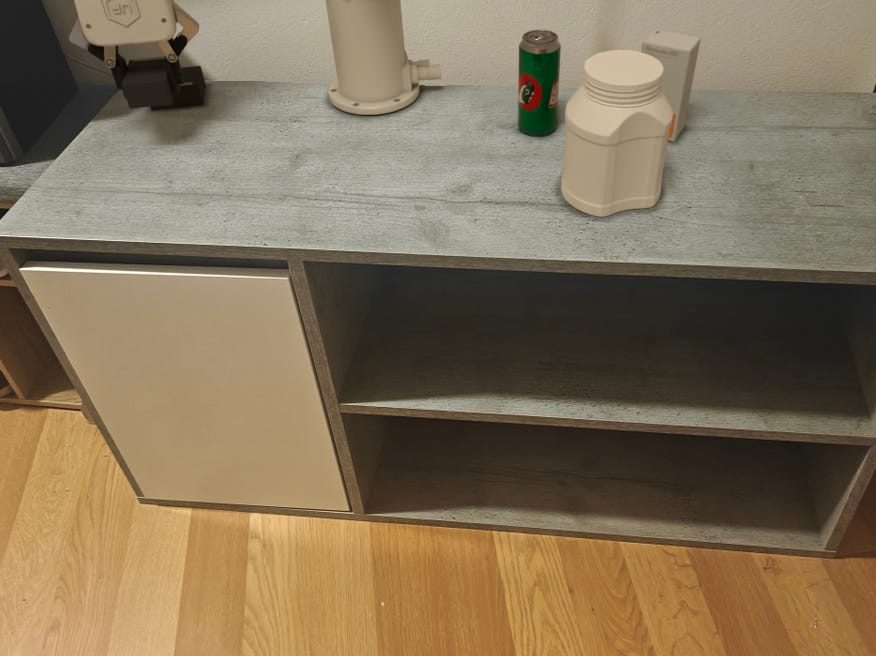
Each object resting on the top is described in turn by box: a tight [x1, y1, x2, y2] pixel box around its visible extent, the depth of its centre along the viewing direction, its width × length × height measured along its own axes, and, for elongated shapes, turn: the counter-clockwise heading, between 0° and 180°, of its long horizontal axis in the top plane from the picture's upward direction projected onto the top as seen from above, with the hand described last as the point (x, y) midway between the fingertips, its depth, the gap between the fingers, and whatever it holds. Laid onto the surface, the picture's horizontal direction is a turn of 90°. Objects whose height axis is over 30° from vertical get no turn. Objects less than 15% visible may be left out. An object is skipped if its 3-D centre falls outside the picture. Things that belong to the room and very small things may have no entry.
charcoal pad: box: [149, 65, 207, 112], centre depth 112 cm, size 7×6×3 cm
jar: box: [560, 49, 673, 218], centre depth 89 cm, size 12×10×15 cm
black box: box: [122, 56, 174, 109], centre depth 99 cm, size 5×7×3 cm
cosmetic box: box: [640, 28, 701, 143], centre depth 99 cm, size 6×4×12 cm
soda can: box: [517, 29, 562, 137], centre depth 100 cm, size 5×5×12 cm
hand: (153, 90), depth 99 cm, fingers closed on black box, 5 cm apart
